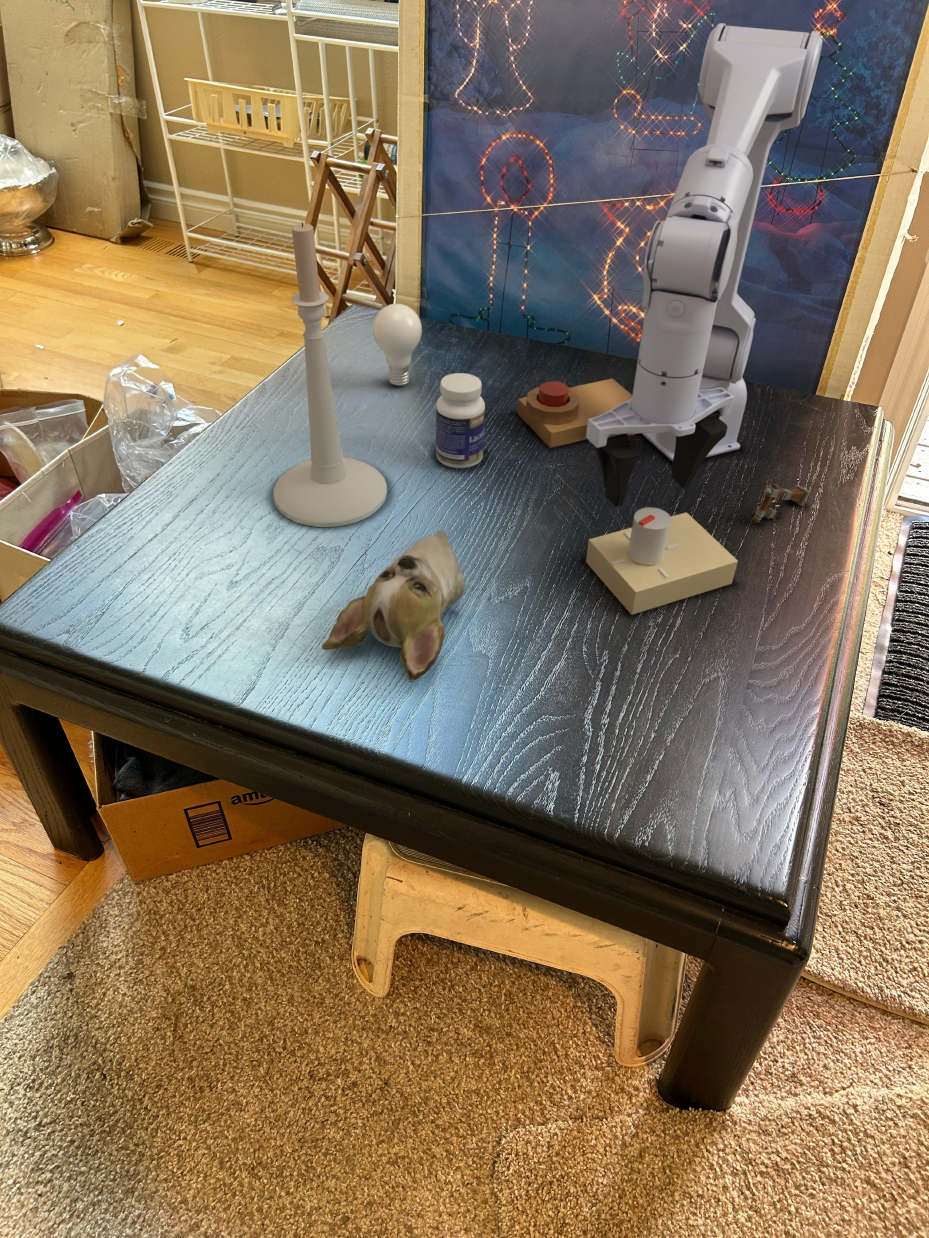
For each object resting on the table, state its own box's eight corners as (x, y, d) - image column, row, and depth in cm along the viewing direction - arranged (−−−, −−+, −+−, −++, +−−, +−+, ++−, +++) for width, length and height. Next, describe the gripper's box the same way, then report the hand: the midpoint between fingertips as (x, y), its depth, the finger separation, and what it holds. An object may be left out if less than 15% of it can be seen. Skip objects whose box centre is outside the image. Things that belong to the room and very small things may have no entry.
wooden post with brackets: (743, 517, 99) (763, 480, 97) (778, 518, 104) (798, 482, 102) (756, 525, 98) (777, 488, 96) (791, 525, 103) (811, 490, 101)
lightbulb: (421, 396, 119) (420, 317, 112) (374, 396, 119) (369, 316, 112) (424, 374, 124) (422, 296, 117) (378, 373, 124) (373, 295, 117)
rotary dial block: (681, 534, 98) (686, 510, 96) (731, 583, 92) (738, 559, 90) (585, 562, 94) (588, 537, 92) (631, 615, 88) (635, 590, 86)
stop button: (558, 391, 114) (559, 379, 112) (572, 405, 111) (574, 392, 110) (533, 397, 112) (534, 384, 111) (546, 410, 110) (548, 397, 109)
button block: (610, 393, 121) (614, 365, 118) (647, 425, 115) (651, 397, 112) (511, 415, 116) (513, 386, 114) (544, 449, 110) (547, 420, 108)
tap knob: (644, 538, 92) (651, 500, 89) (671, 555, 90) (679, 517, 87) (620, 553, 91) (626, 514, 87) (647, 570, 89) (655, 531, 85)
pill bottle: (478, 473, 106) (480, 397, 100) (431, 467, 107) (430, 391, 100) (487, 447, 110) (490, 372, 104) (441, 442, 111) (441, 367, 104)
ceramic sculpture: (492, 531, 83) (414, 638, 74) (492, 599, 89) (420, 705, 80) (392, 501, 87) (306, 599, 77) (399, 568, 93) (319, 666, 84)
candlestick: (326, 450, 109) (298, 189, 89) (409, 486, 104) (400, 217, 84) (250, 500, 102) (200, 226, 81) (335, 541, 96) (305, 259, 76)
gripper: (624, 400, 74) (604, 532, 83) (766, 366, 78) (733, 496, 87) (580, 362, 78) (567, 492, 88) (717, 333, 83) (691, 459, 92)
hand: (647, 491), depth 88 cm, fingers open, 7 cm apart
